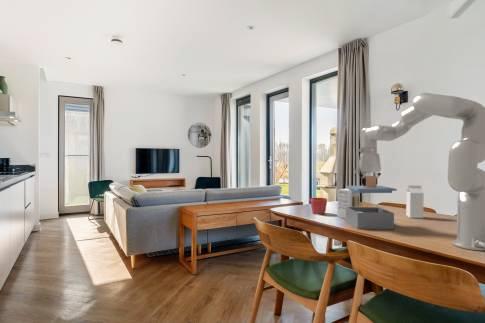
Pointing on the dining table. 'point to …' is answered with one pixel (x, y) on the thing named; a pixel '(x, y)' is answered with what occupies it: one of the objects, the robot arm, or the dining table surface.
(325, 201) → the flower pot
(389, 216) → the storage box
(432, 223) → the dining table surface
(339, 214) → the supplement box
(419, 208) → the milk carton
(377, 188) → the lid
